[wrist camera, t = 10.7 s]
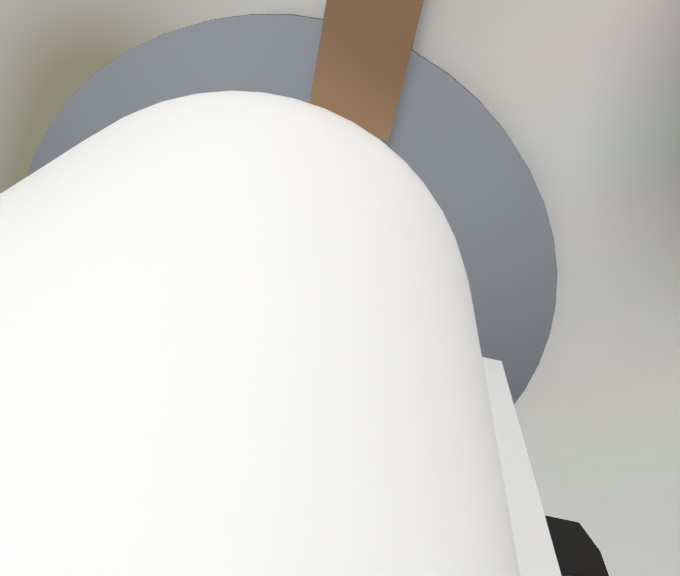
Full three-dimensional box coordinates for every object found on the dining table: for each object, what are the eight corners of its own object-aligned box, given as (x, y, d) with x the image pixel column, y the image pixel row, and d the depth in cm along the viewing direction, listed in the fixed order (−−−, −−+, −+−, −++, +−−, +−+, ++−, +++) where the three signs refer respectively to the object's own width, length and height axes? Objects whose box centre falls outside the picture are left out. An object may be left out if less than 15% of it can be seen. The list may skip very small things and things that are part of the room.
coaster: (15, -53, 12) (-2, -54, 11) (647, 92, 12) (658, 98, 12) (43, 431, 18) (32, 444, 18) (459, 519, 18) (461, 535, 18)
